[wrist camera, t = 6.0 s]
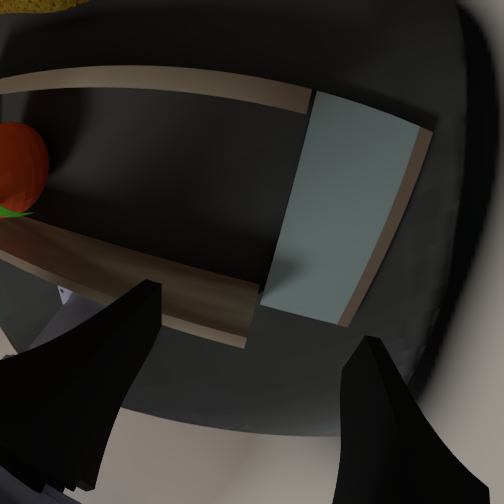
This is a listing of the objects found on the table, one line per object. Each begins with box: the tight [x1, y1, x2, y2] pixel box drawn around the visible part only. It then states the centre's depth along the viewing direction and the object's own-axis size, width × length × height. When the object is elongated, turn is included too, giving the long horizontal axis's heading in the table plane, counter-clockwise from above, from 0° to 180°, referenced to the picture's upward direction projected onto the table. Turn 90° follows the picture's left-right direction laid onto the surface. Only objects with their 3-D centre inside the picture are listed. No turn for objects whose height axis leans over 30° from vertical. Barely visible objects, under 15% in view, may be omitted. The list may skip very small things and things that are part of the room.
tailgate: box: [260, 91, 433, 327], centre depth 17 cm, size 14×1×6 cm
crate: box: [0, 65, 312, 348], centre depth 16 cm, size 14×26×5 cm, turn 79°
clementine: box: [0, 122, 49, 218], centre depth 15 cm, size 8×7×7 cm
